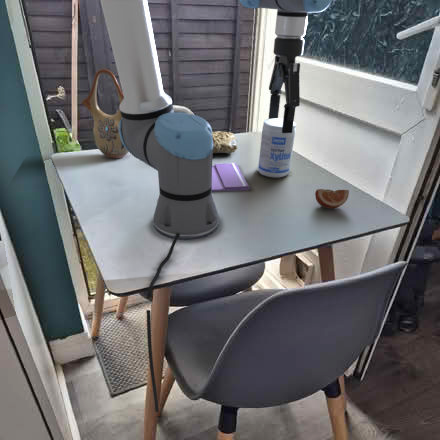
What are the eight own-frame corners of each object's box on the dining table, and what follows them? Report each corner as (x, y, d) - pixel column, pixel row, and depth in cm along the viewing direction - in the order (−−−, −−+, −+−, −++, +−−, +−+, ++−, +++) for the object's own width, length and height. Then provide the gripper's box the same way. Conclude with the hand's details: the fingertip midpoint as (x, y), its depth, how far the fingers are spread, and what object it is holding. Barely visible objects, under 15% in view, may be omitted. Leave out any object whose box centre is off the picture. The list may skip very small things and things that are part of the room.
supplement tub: (270, 180, 114) (276, 128, 105) (251, 170, 120) (256, 119, 111) (295, 175, 118) (303, 124, 109) (276, 165, 125) (282, 116, 115)
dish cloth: (249, 190, 109) (249, 186, 108) (203, 192, 107) (203, 187, 106) (236, 166, 122) (236, 162, 122) (195, 167, 120) (195, 164, 120)
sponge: (228, 149, 138) (173, 139, 132) (235, 128, 133) (178, 117, 127) (235, 169, 130) (177, 160, 124) (242, 148, 124) (181, 137, 118)
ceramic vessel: (143, 152, 129) (135, 67, 114) (138, 162, 122) (129, 72, 107) (94, 151, 129) (79, 65, 114) (86, 160, 122) (70, 70, 107)
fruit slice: (340, 202, 104) (345, 184, 101) (349, 213, 99) (353, 195, 96) (310, 201, 104) (313, 184, 101) (316, 213, 98) (320, 195, 95)
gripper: (322, 43, 89) (307, 138, 102) (288, 32, 108) (279, 113, 121) (290, 43, 88) (279, 139, 101) (262, 31, 107) (256, 114, 120)
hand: (279, 125), depth 111 cm, fingers open, 13 cm apart
